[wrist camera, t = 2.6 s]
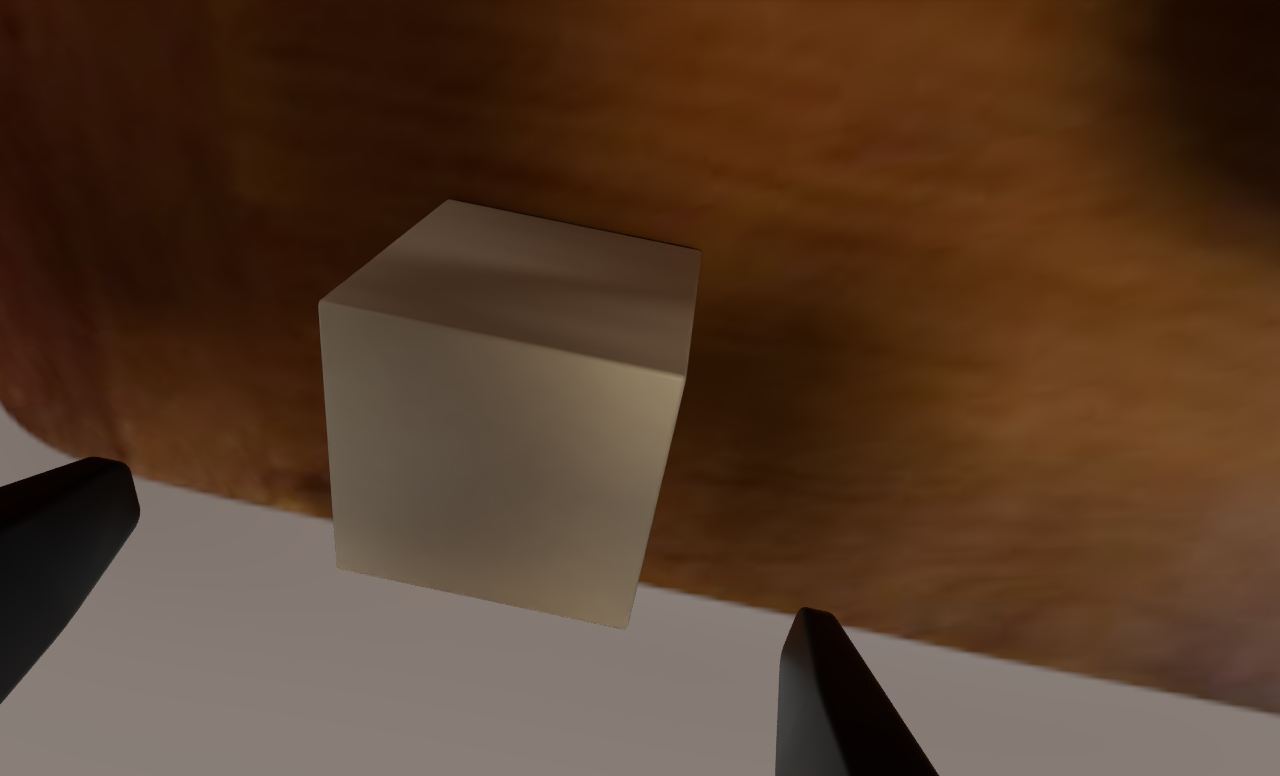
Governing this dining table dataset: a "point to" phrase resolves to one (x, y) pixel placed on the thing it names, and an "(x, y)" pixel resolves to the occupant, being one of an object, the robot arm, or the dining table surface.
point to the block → (506, 407)
